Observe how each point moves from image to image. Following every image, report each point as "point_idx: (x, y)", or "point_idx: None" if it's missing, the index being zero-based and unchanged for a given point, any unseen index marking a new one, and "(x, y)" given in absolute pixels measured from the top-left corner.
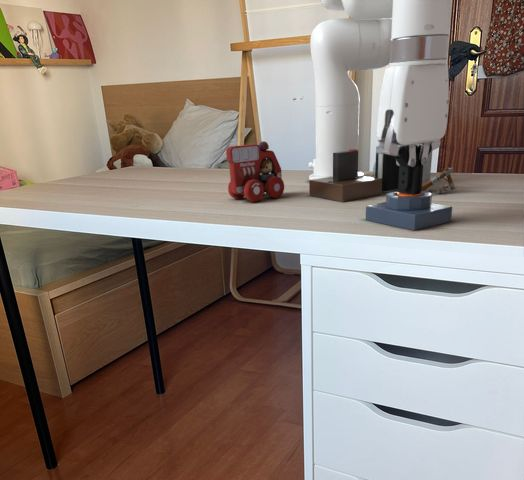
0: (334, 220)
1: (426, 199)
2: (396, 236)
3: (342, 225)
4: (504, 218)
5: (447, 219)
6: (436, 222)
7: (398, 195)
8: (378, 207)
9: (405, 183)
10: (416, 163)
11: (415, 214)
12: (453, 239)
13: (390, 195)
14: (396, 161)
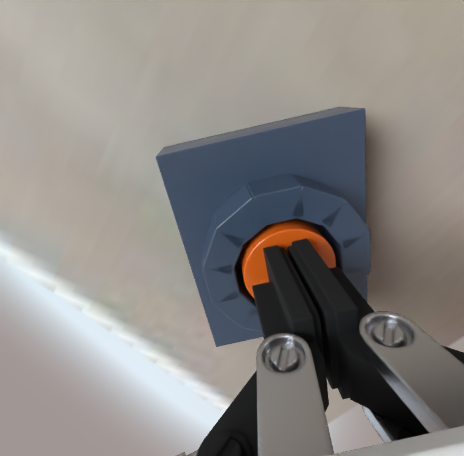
0: (52, 78)
1: None
2: (150, 338)
3: (58, 172)
4: (456, 316)
5: None
6: None
7: (242, 269)
8: (183, 210)
9: (260, 323)
10: (345, 387)
11: (221, 342)
12: (237, 392)
13: (217, 254)
14: (258, 362)
